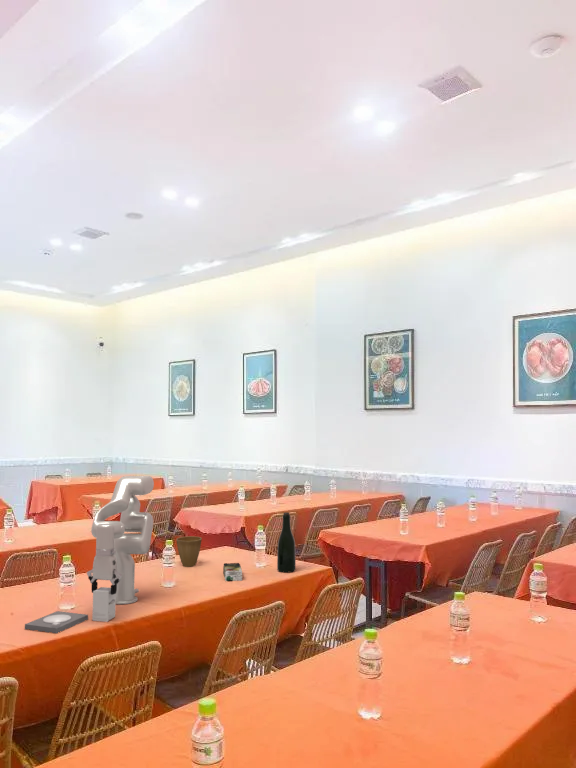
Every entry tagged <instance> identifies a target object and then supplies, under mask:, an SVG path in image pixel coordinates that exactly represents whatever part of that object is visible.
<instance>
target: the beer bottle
mask: <svg viewBox="0 0 576 768" xmlns="http://www.w3.org/2000/svg"><path fill="white" fill-rule="evenodd" d="M276 562H277V563H276V566H277V567H276V568H277V571H278V572H279V573H293V571H294V572H295V571H296V565H297V563H296V541H295V538H294V535H293V532H292V528H291V515H290V512H283V514H282V528H281V532H280V534H279V538H278V541H277V561H276Z"/></svg>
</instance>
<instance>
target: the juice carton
mask: <svg viewBox="0 0 576 768" xmlns="http://www.w3.org/2000/svg"><path fill="white" fill-rule="evenodd" d="M222 568H223V571H222V573H223V578H224V581H225V582H229V581H233V582H239V581H243V570H242V567H241V564H240V563H239V562H234V563H225V562H224V563H223V567H222Z"/></svg>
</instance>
